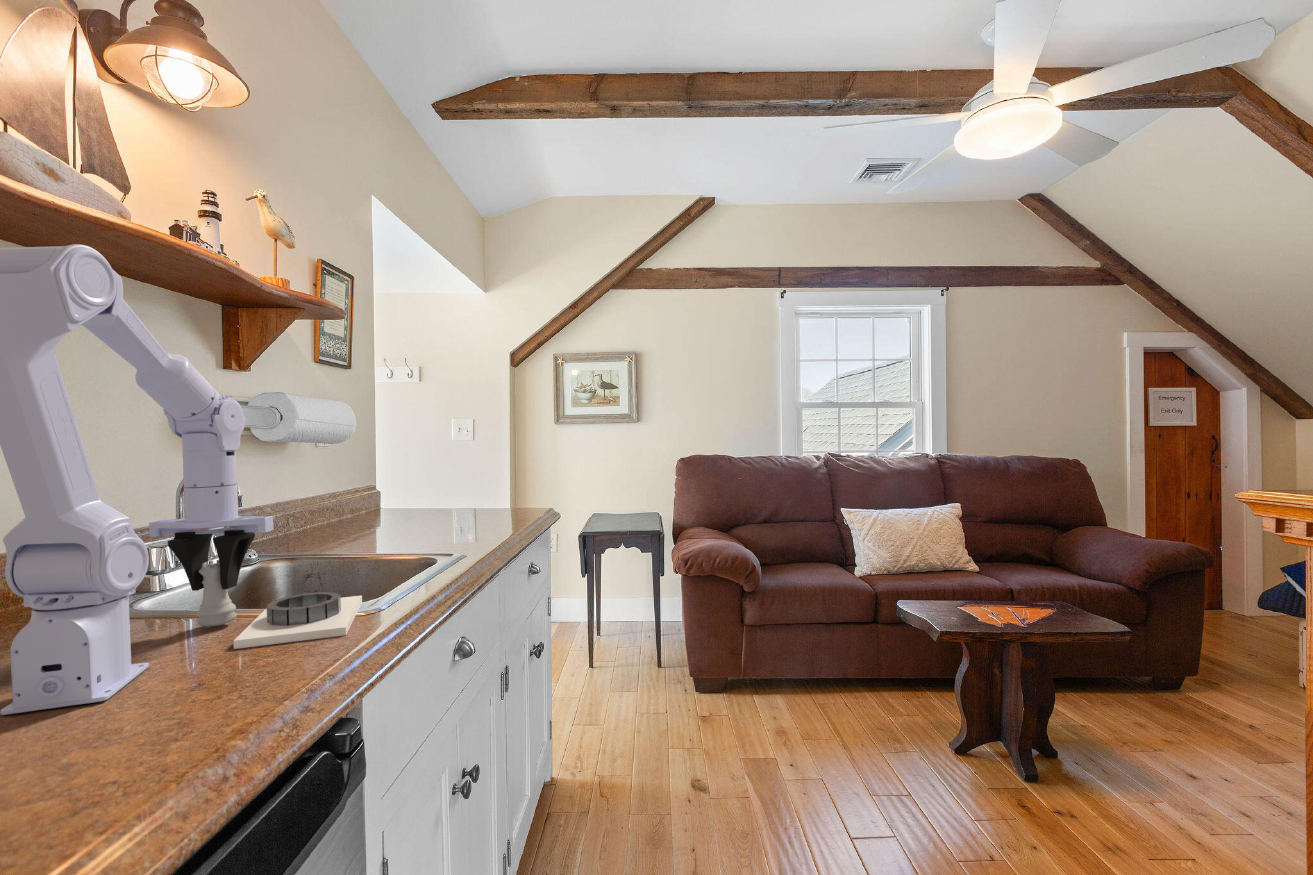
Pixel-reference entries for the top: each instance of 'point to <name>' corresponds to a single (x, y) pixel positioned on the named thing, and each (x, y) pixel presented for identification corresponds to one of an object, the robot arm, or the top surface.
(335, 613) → the segmented grey ring
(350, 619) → the mount plate
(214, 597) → the rook chess piece
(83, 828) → the top surface
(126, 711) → the top surface
